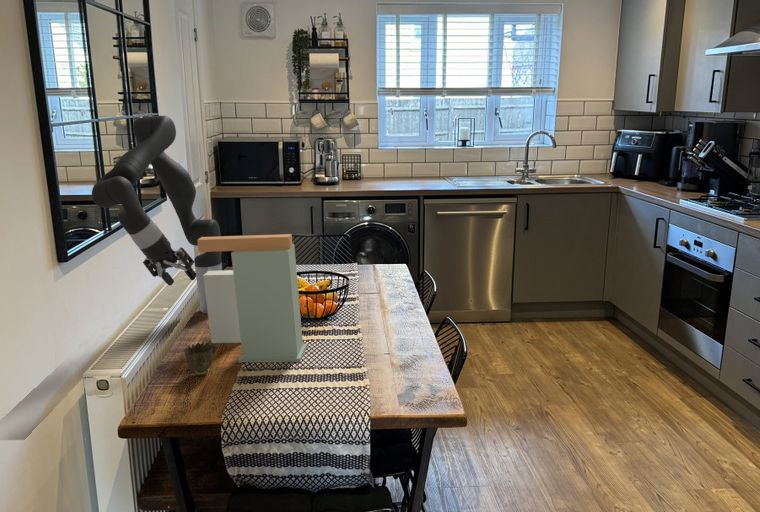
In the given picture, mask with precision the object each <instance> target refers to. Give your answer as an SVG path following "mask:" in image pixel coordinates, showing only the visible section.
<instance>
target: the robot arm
mask: <svg viewBox="0 0 760 512" xmlns="http://www.w3.org/2000/svg"><path fill="white" fill-rule="evenodd" d="M132 129H133V135H134V138H135V140H136V142H137V144H138V145H136V146H135V147H132V148H131V149H128V150H127V151H126V152H125V153H124V154H123V155H121V157H120V158H119V159H118V161H117V162H116V163H115V164H114V166H113V168H112V169H111V170H109V171H107V172H106V173H105V174H104V175H103V176H102V177H101V178H99V179H98V180H97V181H96V182H95V183H94V185H93V187H92V189H91V199H92V201H93V202H94V204H95V205H96V206H98V207H100V208H103V209H109V208H112V207H114V206H118V205H121V206H122V208H123V209H122V210H121V211H120V212H119V213H118V215H117V220H118V222H119V224H120V225H121V227H123V229H124V230H125V231H126V232H127V234H129V237H130V238H131V240H132V241H133V243H134V244H135V245H136V246H137V247H138V249H139V250H140V251H141V253H142V254H143V255H144V256H145V259H144V260H143V262H142V263H143V265H144V266H145V268H146V269H147V270H148V271H149V273H150V274H151V276H152V277H154V278H156V277H159V278H161V279H162V280H163V281H164V282H165V283H166V284H167V285H168V286H172V285H174V282H175V279H174V278H173V277H172V276H171V275H170V273H169V272H168V271H166V270H167V269H170V268H175V269H180V270H182V271H184V273H185V274H186V276H187V277H188V278H189V280H191V281H195V280H196V285H197V292H198V293H197V294H198V301H199V309H200V313H201V312H202V313H201V314H207V315H208V311H207V303H206V294H205V286H204V278H203V275H204V274H205V273H207V272H208V271H221V270H223V263H222V252H223V251H214V252H203V253H201V254H198V255H196V256H195V257H194V259H193V258H192V256H190V254H189V253H188V252H187V251H186V250H185V248H183V247H179V248H178V249H177V250H174V249H173V248H172V246H171V244H172V243H171V242H170V241H169V239H168V238H167V237H166V236H165V234H164V233H163V232H162V230H161V229H160V228H159V226H158V225H157V224H156V223H155V222H154V221H153V219H152V218H151V217H149V215H148V214H147V213H146V212H145V210H144V209H143V207H142V204H141V203H140V200H139V198H138V194H137V193H136V190H135V187H134V185H135V184H136V183H138V181H139V179H140V178H141V176H142V175H144V172H145V171H146V169H147V168H148V167H149V166H150V165H151V166H152V167H153V170H154V171H155V173H156V175H157V177H158V180H159V181H160V183H161V185H162V188H163V190H164V191H165V193H166V196H167V198H168V199H169V201H170V203H171V205H172V207H173V208H174V211H175V213H176V216H177V218H178V219H179V223H180V225H181V229H182V230H183V233H184V236H185V238H186V240H187V242H188V243H189V244H190V245H191V246H195V247H198V242H197V240H198V239H199V238H201V237H219V236H221V229H220V225H219V223H218V221H217V220H215V219H212V218H211V219H208V218H207V219H197V217H196V216H195V215H194V212H193V205H194V202H195V199H196V194H197V189H196V186H195V184H194V182H193V179H192V177H191V175H190V173H189V172H188V170H187V169H185V168H184V166H182V165H181V164H179V163H178V162H177V161H176V160H174V159H173V158H171V157H170V156H169V155H167V153H166V152H165V151H166V150H167V149H168V148H169V147H170V146H171V145H173V143H174V141H175V139H176V136H177V129H176V126H175V122H174V121H173V119H172V118H171V117H169V116H168V115H167V116H166V115H152V116H142V117H137V118H136V119H135V120H134V121H133V125H132ZM193 265H194V268H195V271H194V269H193Z"/></svg>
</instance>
